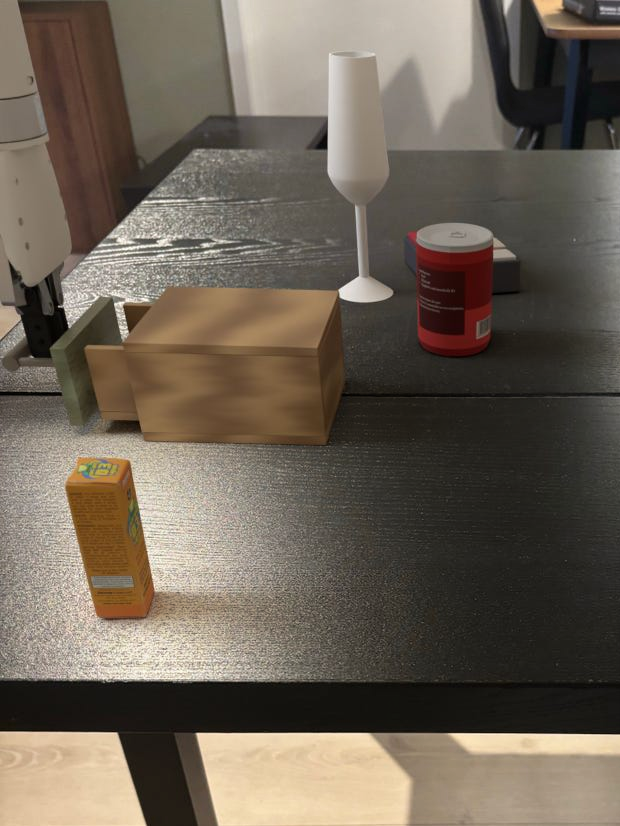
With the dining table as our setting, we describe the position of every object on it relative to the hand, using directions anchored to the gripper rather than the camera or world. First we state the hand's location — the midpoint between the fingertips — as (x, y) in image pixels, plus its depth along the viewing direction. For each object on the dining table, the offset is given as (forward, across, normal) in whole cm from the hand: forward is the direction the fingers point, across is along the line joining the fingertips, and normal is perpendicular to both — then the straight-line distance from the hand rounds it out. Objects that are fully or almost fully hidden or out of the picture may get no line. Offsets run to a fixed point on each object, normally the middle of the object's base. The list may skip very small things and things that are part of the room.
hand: (53, 354), depth 82 cm
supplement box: (+5, +30, +15) cm, 34 cm away
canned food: (+5, -17, +35) cm, 39 cm away
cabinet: (+4, 0, +17) cm, 17 cm away
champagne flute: (+5, -32, +24) cm, 40 cm away
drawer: (+4, 0, +7) cm, 8 cm away
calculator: (+5, -39, +35) cm, 52 cm away
